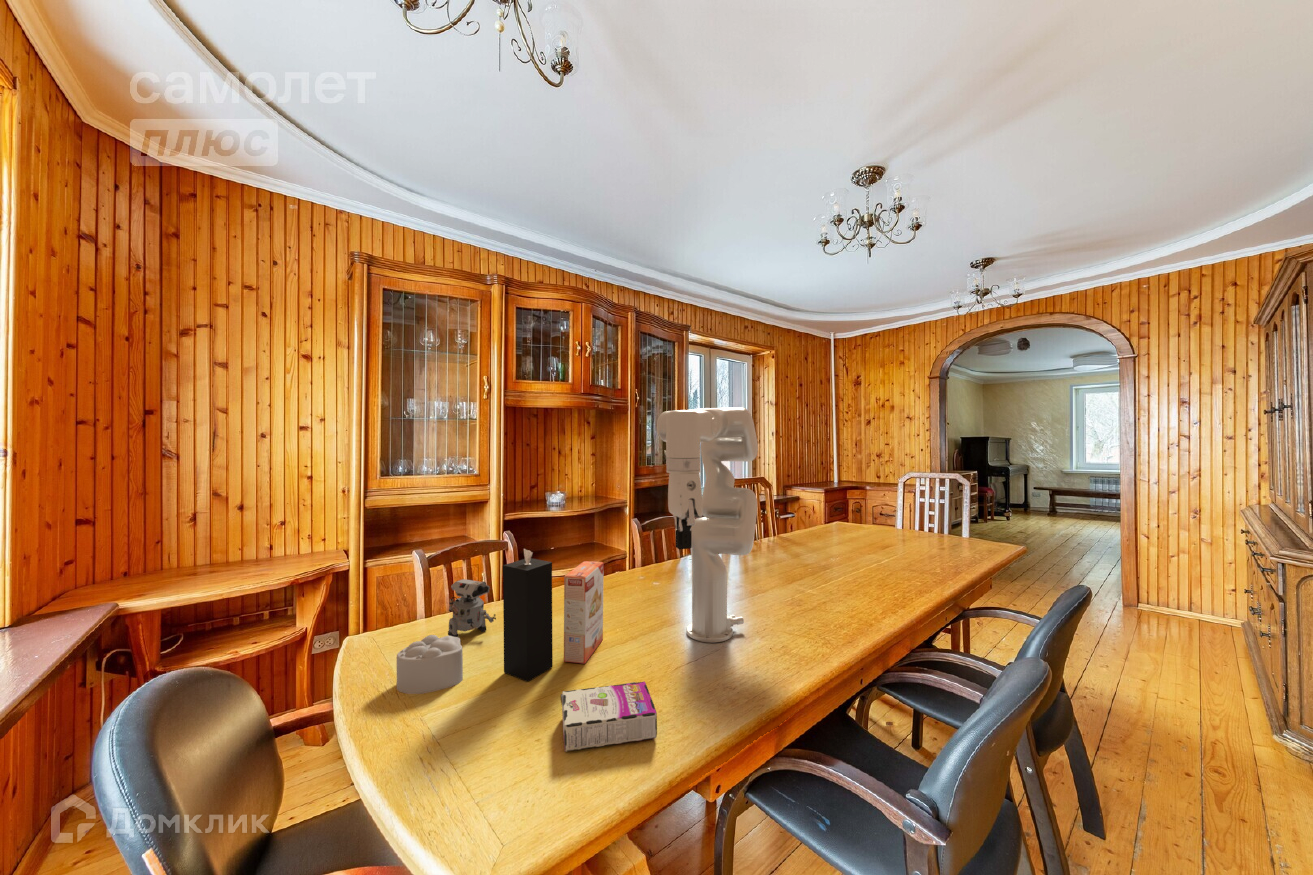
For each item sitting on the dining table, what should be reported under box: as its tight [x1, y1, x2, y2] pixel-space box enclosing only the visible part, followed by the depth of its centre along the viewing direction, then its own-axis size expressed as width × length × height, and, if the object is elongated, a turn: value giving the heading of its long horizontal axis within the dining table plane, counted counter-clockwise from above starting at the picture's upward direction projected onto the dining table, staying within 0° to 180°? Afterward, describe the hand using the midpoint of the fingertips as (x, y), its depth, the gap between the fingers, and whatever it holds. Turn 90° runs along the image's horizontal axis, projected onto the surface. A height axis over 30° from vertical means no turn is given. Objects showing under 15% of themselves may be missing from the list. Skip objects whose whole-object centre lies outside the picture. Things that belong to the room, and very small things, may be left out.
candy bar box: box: [561, 680, 658, 753], centre depth 89 cm, size 11×5×16 cm
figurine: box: [447, 578, 497, 638], centre depth 129 cm, size 9×12×15 cm
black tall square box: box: [502, 548, 554, 682], centre depth 110 cm, size 8×8×28 cm
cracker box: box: [563, 560, 605, 665], centre depth 120 cm, size 14×6×21 cm, turn 168°
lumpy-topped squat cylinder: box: [396, 634, 464, 695], centre depth 106 cm, size 10×13×9 cm
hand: (683, 547), depth 107 cm, fingers closed
